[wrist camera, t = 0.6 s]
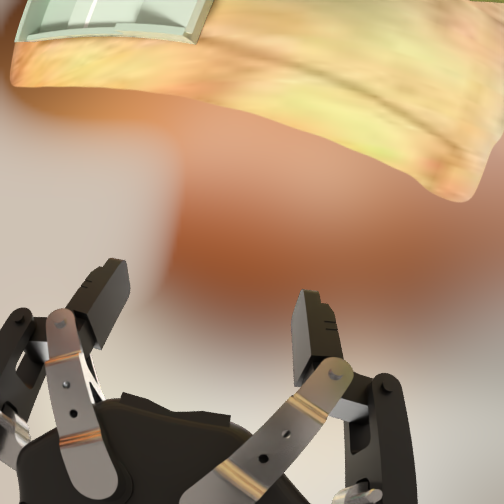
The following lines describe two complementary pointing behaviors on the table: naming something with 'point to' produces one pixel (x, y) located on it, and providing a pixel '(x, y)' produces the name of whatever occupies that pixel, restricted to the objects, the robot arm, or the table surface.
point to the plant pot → (498, 0)
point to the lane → (113, 19)
